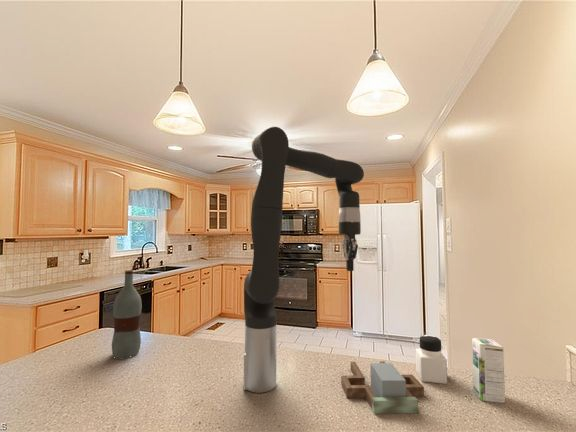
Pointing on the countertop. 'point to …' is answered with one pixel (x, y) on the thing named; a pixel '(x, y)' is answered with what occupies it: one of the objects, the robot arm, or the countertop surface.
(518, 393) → the countertop surface
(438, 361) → the medicine bottle
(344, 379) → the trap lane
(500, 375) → the syrup box
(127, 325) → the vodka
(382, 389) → the slate block
